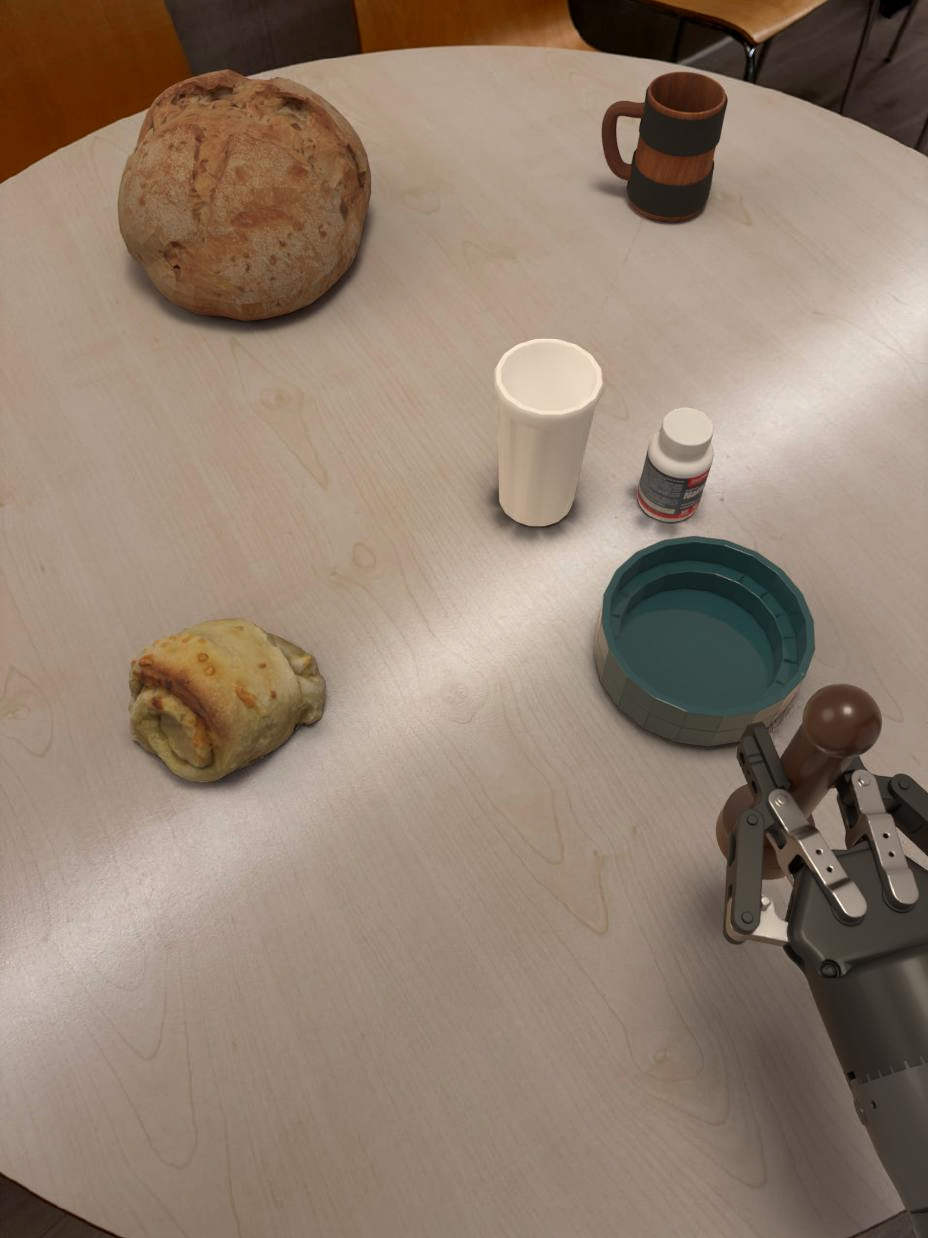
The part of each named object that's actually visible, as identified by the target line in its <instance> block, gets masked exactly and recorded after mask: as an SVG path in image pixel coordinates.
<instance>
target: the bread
mask: <svg viewBox="0 0 928 1238" xmlns="http://www.w3.org/2000/svg"><path fill="white" fill-rule="evenodd" d="M122 171H123V172H122V174H121V178H120V184H119V188H118V190H119V191H118V195H117V220H118V227H119V232H120V236H121V237H122V239H123V240H122V241H123V242H124V245H125V247H126V249H127V252H128V253H129V254H130V256H131V258H133V260H134V261H135V262H136V263H137V264H138V265H139V266H140V267H141V268H142V270H143V271H144V272H145V273H146V275H147V276H148V278H149V279H150V281H151V282H152V283H153V285H154V287H155V288H156V289H157V291H158V292H159V293H161V294H162V295H163V296H164V297H166V298H167V299H168V300H169V301H171V302H172V303H173V304H175V305H176V306H179V307H181V308H183V309H185V310H188V311H190V312H192V313H194V314H196V315H199V316H210V317H225V318H230V319H234V320H238V321H243V322H249V321H258V320H265V319H270V318H275V317H278V316H282V315H287V314H290V313H292V312H295V311H298V310H300V309H303V308H305V307H307V306H310V305H311V304H312V303H314V302H315V301H316V300H317V299H319V298H320V297H322V295H324V294H326V292H327V291H328V290H330V288H332V287H333V286H334V285H335V284H336V283H337V282H338V281H339V280H340V278H341V277H342V276H343V275H344V274H345V273H346V271H347V270H348V269H349V268H350V267H351V266H352V265H353V262H354V260H355V258H356V256H357V254H358V251H359V249H360V247H361V246H360V245H361V241H362V240H361V239H362V234H363V228H364V224H365V223H364V222H365V218H366V215H367V212H368V209H369V205H370V202H371V201H370V200H371V197H372V172H371V167H370V161H369V157H368V154H367V151H366V149H365V147H364V144H363V142H362V139H361V138H360V135H359V134H358V132H357V131H356V129H355V128H354V127H353V126H352V124H351V123H350V122H349V121H348V119H347V118H346V117H345V116H344V115H343V114H342V113H341V112H340V111H339V110H338V109H337V108H336V107H335V106H334V105H333V104H331V103H330V102H329V101H328V100H326V99H325V98H324V97H323V96H322V95H321V94H319V93H317V92H315V91H314V90H313V89H310V88H309V87H307V86H306V85H303V84H301V83H299V82H296V81H295V80H292V79H290V78H286V77H280V76H275V77H270V78H269V79H259V78H248V77H247V76H244V75H242V74H240V73H238V72H236V71H234V70H231V69H227V68H226V69H221V70H216V71H210V72H206V73H203V74H199V75H197V76H193V77H190V78H186V79H185V80H182V81H179V82H176V83H175V84H173V85H171V86H170V87H167V88H166V89H165V90H164V91H162V92H161V93H160V94H159V95H158V96H157V97H156V98H155V99H154V100H153V102H152V103H151V105H150V106H149V108H148V110H147V112H146V114H145V117H144V119H143V121H142V124H141V127H140V130H139V134H138V137H137V141H136V146H135V147H134V148H133V152H132V153H131V154H130V155H129V156H127V159H126V161H125V165H124V168H123V170H122Z"/></svg>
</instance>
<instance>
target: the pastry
mask: <svg viewBox="0 0 928 1238" xmlns="http://www.w3.org/2000/svg"><path fill="white" fill-rule="evenodd" d="M128 688H129V691H130V701H129V704H128V712H129V721H130V724H129V725H130V726H129V728H130V731H131V739H132V740H134V742H138V743H139V744H140V745H141V746H142V747H143V748H144V750H146V751H148V752H149V753H151V754H152V755H153V756H157V757H158V758H159V759H161V760H162V763H163V764H164V765H165V766H166V767H167V768H168V769H169V770H170V771H171V772H172V773H174V774H175V775H177V776H179V777H180V778H183V779H185V780H187V781H191V782H200V783H207V782H213V781H217V780H220V779H222V778H224V777H225V776H227V775H228V774H230V773H232V772H234V771H239V770H241V769H243V768H245V767H249V766H251V765H252V764H253V763H256V762H257V761H260V760H261V759H263V758H264V757H266V756H267V754H268V753H270V752H272V751H275V750H276V749H277V748H279V747H280V746H281V745H282V744H283V743H285V742H286V741H287V740H288V739H289V737H290V736H291V735H292V733H293V732H295V733H297V729H298V728H299V726H300V725H303V726H307V727H308V726H312V724H313V723H316V722H317V721H319V720H320V719H321V717H322V715H323V711H324V710H323V707H324V705H325V697H326V691H327V682H326V679H325V677H324V676H323V675H322V674H321V672H320V669H319V667H318V661H317V658H316V657H315V656H314V655H313V654H311V653H309V652H307V651H306V650H305V649H303V648H302V647H300V646H298V645H296V644H294V643H293V642H291V641H288V640H286V639H284V638H282V637H280V636H278V635H275V634H273V633H269V632H266V630H264V629H263V628H262V627H261V626H259V625H257V624H256V623H254V622H253V621H250V620H247V619H244V618H243V617H234V618H232V617H231V618H219V619H212V620H207V621H204V622H201V623H197V624H195V625H193V626H190V627H186V628H184V629H182V630H181V631H180V632H178V633H175V634H171V635H168V636H165V637H162V638H160V639H157V640H155V641H154V642H153V643H152V644H151V645H149V646H148V647H146V648H144V649H143V651H142V652H140V654H139V655H138V656H136V657H135V658H134V659H132V660H131V662H130V668H129V674H128Z"/></svg>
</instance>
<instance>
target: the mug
mask: <svg viewBox="0 0 928 1238" xmlns="http://www.w3.org/2000/svg"><path fill="white" fill-rule="evenodd" d="M728 101H729V99H728V95H727V93H726V91H725V89H724V87H723V86H722V85H721V84H720V82H718V81H716V80H715V79H713V78H712V77H709V76H707V75H705V74H701V73H697V72H691V71H672V72H667V73H664V74H661V75H659V76H657V77H655V78H654V79H653V80H652V81H651V82H650V83H649V85H648V86H647V87H646V90H645V96H644V102H636V101H631V100H618V101H615V102H614V103H612V104H611V105H610V106H609V107H608V108H606V111H605V113H604V115H603V117H602V122H601V144H602V150H603V156H604V159H605V161H606V164H607V166H608V169H609V170H610V171H611V173H612V174H613V175H615V176H616V177H617V178H619V179H621V180H623V181H626V182H627V184H626V194H627V197H628V199H629V202H630V203H631V205H632V206H633V208H634V209H635V211H637V212H638V213H640V214H641V215H643V216H644V217H647V218H649V219H651V220H655V221H657V222H658V221H659V222H665V223H667V222H668V223H672V222H673V223H675V222H681V221H684V220H685V221H686V220H687V219H690V218H692V217H694V216H695V215H696V214H698V213H699V211H701V210H702V209H703V208H704V207H705V206H706V204H707V203H708V200H709V196H710V193H711V189H712V183H713V177H714V170H715V159H714V158H715V153H716V148H717V146H718V145H719V143H720V140H721V136H722V132H723V131H722V130H723V125H724V120H725V117H726V112H727V107H728ZM619 117H626V118H631V119H640V121H639V126H638V134H639V135H638V139H637V145H636V148H635V150H634V151H633V154H632V158H631V163H626V162H625V161H624V160H623V158H622V156H621V153H620V149H619V145H618V136H617V125H618V119H619Z"/></svg>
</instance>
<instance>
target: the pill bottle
mask: <svg viewBox="0 0 928 1238" xmlns="http://www.w3.org/2000/svg"><path fill="white" fill-rule="evenodd" d="M714 431H715V430H714V423H713V421H712V420H711V418H710V417H709V416H708V415H707V414H706V413H704V412H703V411H701V410H699V409H696V408H692V407H678V408H675V409H672V410H670V411H669V412H667V413H666V414H665V415H664V417H663V419H662V423H661V426H660V429H658V431H656V432H655V433H654V434H653V436H651V439H650V440H649V442H648V443H649V444H648V446H647V450H646V455H645V458H644V459H645V460H644V463H643V467H642V470H641V475H640V479H639V482H638V485H637V490H636V498H637V502H638V504H639V507H640V508H641V509H642V511H644V512H645V513H646V514H647V515H648V516H649V517H651V518H654V519H655V520H658V521H662V522H665V523H667V522H668V523H675V522H681V521H683V520H686V519H688V518H690V517H691V516H692V515H694V513H696V511H697V509H698V506H699V504H700V502H701V498H702V495H703V493H704V490H705V486H706V483H707V481H708V477H709V473H710V472H711V471H710V470H711V468H712V465H713V461H714V456H715V451H714V446H713V444H712V440H713V436H714Z"/></svg>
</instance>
